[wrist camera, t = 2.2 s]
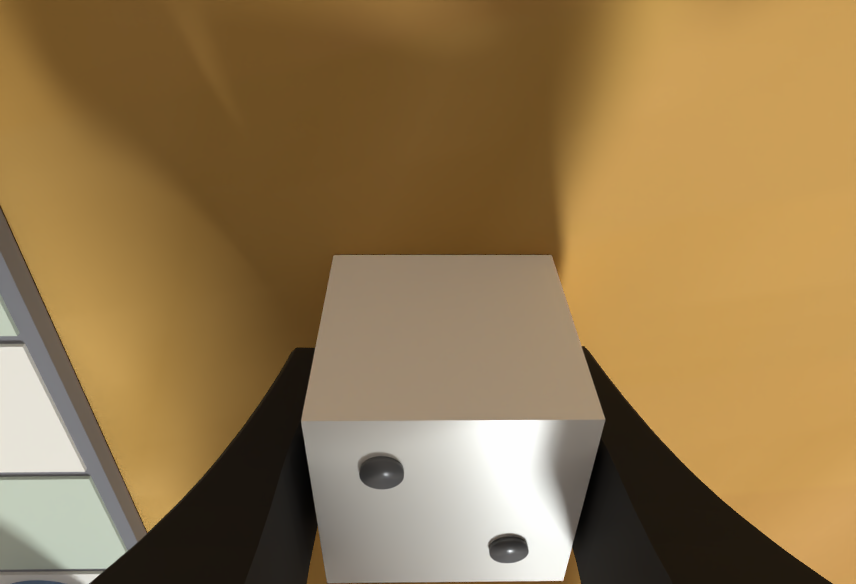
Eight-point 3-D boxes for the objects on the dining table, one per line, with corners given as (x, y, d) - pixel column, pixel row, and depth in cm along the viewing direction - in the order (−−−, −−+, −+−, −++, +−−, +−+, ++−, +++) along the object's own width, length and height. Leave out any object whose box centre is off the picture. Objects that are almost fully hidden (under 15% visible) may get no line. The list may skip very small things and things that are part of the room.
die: (528, 406, 15) (564, 585, 12) (344, 407, 15) (320, 588, 12) (551, 254, 13) (607, 424, 9) (328, 255, 13) (292, 426, 9)
